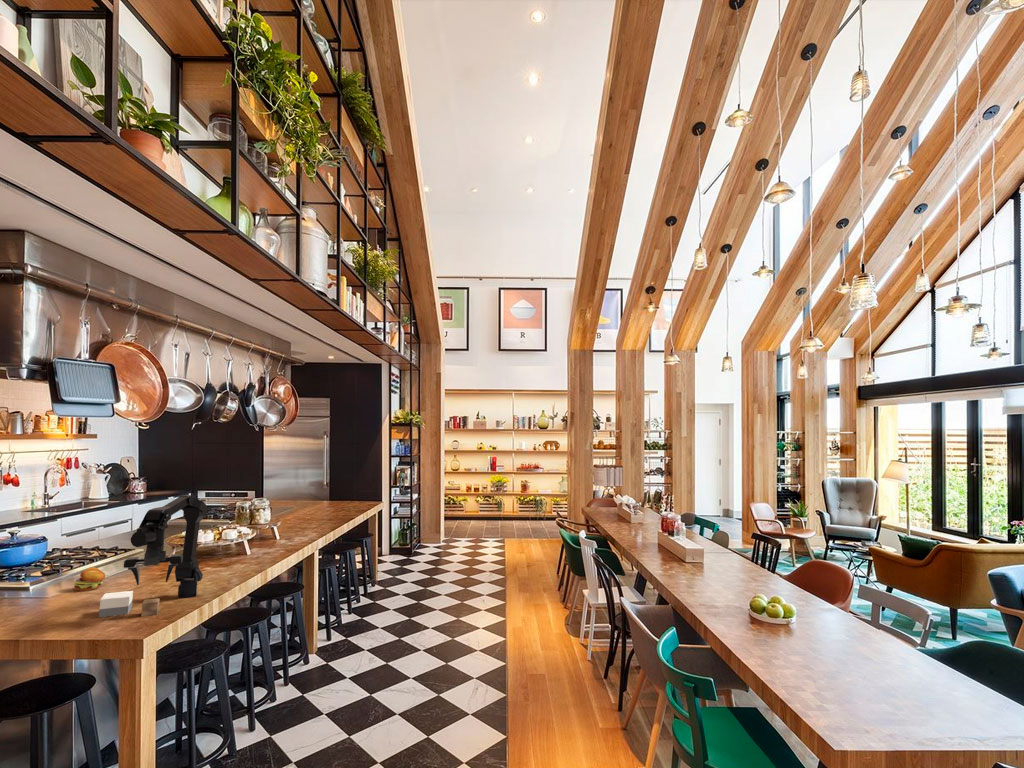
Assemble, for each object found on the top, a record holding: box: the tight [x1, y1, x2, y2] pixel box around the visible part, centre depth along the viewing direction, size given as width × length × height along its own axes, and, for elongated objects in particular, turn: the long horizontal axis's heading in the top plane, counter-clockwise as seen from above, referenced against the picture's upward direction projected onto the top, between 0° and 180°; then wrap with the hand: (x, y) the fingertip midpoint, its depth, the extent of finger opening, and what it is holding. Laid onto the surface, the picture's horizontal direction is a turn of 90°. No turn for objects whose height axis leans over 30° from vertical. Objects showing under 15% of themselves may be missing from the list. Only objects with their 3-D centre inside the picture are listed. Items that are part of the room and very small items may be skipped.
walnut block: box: [141, 597, 160, 618], centre depth 210 cm, size 5×5×5 cm
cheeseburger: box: [73, 567, 106, 592], centre depth 243 cm, size 10×11×10 cm
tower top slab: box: [99, 590, 134, 609], centre depth 211 cm, size 9×9×4 cm
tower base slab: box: [98, 600, 133, 619], centre depth 210 cm, size 9×9×4 cm
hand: (152, 583), depth 211 cm, fingers open, 9 cm apart
